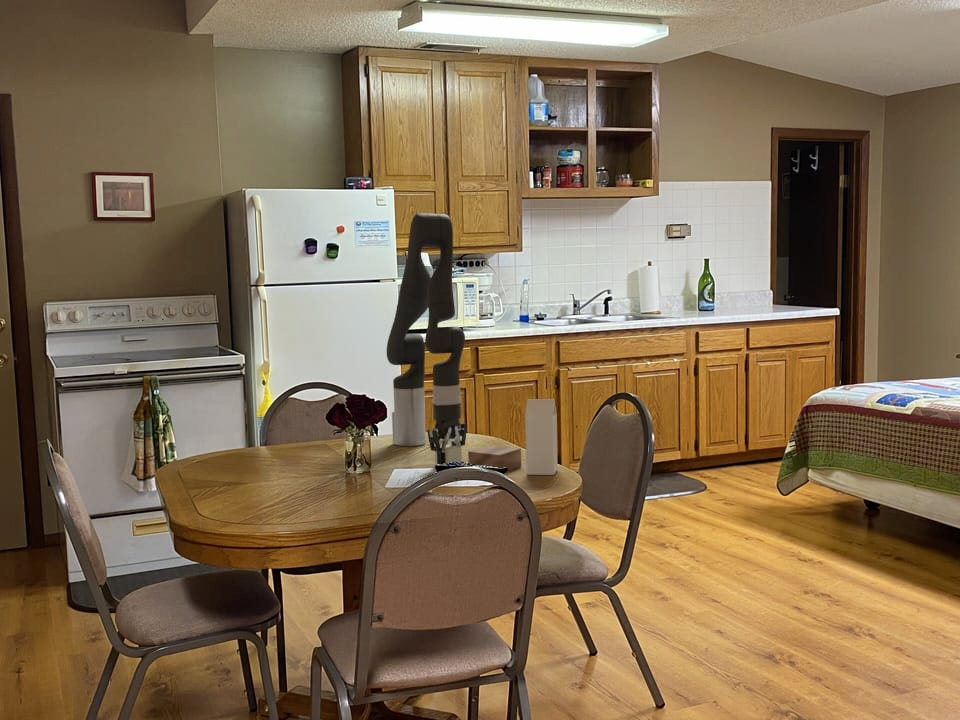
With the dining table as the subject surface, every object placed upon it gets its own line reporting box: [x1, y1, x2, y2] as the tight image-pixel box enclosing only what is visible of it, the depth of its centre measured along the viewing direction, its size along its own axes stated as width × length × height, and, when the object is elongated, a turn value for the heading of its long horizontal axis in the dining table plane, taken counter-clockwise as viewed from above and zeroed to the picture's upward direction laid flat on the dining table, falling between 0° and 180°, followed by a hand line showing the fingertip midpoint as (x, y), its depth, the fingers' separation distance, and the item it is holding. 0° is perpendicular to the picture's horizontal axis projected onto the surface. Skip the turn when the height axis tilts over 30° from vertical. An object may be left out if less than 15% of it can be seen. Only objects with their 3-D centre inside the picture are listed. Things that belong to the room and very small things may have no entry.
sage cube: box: [434, 444, 463, 466], centre depth 269 cm, size 5×5×5 cm
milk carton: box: [524, 398, 558, 476], centre depth 257 cm, size 7×7×19 cm
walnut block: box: [467, 445, 522, 471], centre depth 266 cm, size 10×10×5 cm
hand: (448, 463), depth 270 cm, fingers closed on sage cube, 5 cm apart
